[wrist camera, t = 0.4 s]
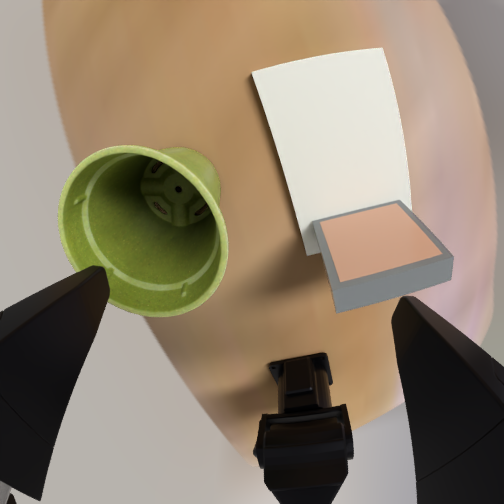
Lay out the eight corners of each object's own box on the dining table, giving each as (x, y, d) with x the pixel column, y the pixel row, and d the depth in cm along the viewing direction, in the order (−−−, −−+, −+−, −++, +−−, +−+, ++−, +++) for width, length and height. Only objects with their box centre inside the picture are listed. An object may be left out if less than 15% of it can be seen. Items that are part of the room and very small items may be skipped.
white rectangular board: (409, 225, 21) (412, 229, 20) (306, 251, 23) (306, 255, 22) (379, 48, 14) (382, 47, 14) (251, 73, 16) (251, 72, 15)
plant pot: (103, 188, 20) (37, 241, 13) (175, 96, 17) (113, 103, 9) (186, 262, 24) (155, 339, 16) (270, 187, 20) (272, 250, 13)
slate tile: (401, 218, 20) (451, 279, 13) (316, 239, 21) (336, 313, 14) (399, 199, 19) (453, 256, 12) (311, 220, 20) (332, 290, 14)
